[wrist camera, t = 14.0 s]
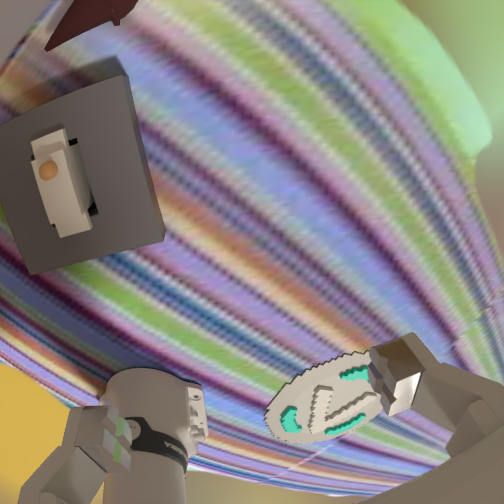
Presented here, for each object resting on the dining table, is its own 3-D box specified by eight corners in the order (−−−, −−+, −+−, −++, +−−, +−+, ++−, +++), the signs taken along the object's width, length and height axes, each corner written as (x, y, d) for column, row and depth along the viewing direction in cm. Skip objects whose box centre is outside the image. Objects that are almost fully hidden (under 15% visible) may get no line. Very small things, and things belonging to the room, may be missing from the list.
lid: (241, 434, 58) (242, 440, 56) (318, 336, 49) (321, 343, 47) (344, 441, 67) (346, 446, 66) (421, 361, 58) (424, 366, 56)
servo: (100, 216, 35) (85, 236, 29) (71, 224, 34) (53, 245, 29) (75, 125, 30) (54, 130, 24) (46, 137, 29) (21, 144, 24)
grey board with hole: (165, 230, 37) (163, 241, 34) (39, 263, 36) (30, 275, 33) (128, 77, 29) (121, 74, 26) (-4, 131, 27) (-18, 135, 24)
